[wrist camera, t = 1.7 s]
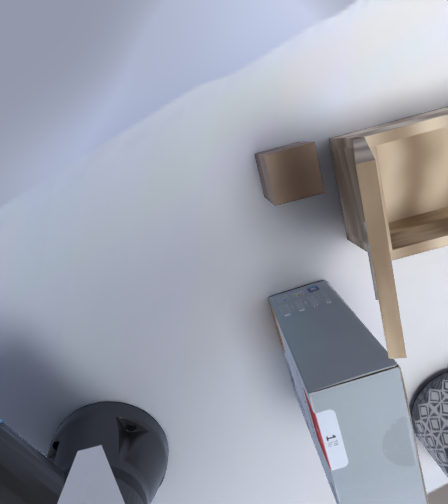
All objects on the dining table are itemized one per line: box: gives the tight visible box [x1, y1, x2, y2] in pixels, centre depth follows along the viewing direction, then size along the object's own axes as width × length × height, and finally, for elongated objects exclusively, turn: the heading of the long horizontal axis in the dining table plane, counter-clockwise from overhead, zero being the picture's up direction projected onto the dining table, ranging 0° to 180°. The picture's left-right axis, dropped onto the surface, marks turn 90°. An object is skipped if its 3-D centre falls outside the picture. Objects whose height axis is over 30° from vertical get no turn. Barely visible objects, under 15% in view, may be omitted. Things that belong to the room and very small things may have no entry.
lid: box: [353, 137, 406, 359], centre depth 31 cm, size 16×12×1 cm
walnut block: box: [255, 142, 325, 206], centre depth 43 cm, size 5×5×7 cm
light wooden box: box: [329, 107, 448, 261], centre depth 43 cm, size 16×12×10 cm
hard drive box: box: [269, 280, 428, 504], centre depth 43 cm, size 16×8×20 cm, turn 17°
